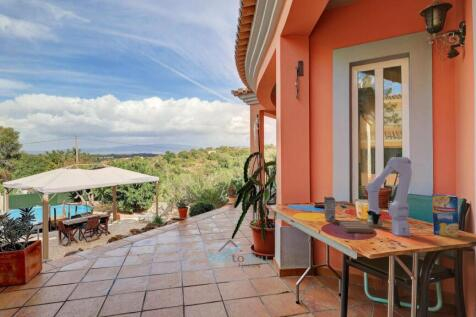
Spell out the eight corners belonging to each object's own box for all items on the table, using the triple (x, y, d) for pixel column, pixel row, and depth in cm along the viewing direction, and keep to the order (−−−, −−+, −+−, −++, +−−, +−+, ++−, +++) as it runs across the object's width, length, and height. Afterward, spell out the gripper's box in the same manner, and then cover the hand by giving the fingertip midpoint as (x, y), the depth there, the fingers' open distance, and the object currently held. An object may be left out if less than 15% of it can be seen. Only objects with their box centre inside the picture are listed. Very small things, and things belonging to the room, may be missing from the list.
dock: (371, 232, 149) (371, 228, 149) (346, 232, 151) (346, 228, 151) (360, 224, 168) (360, 220, 168) (338, 224, 170) (338, 220, 170)
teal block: (379, 220, 161) (379, 216, 161) (370, 220, 162) (370, 216, 162) (376, 219, 165) (376, 215, 165) (368, 219, 166) (368, 215, 166)
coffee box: (324, 218, 188) (324, 196, 188) (333, 218, 186) (333, 196, 187) (326, 221, 179) (325, 198, 179) (335, 221, 178) (335, 198, 178)
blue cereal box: (458, 237, 137) (457, 196, 137) (433, 234, 144) (432, 195, 144) (457, 234, 143) (456, 195, 143) (432, 231, 149) (431, 194, 149)
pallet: (382, 227, 160) (382, 220, 160) (368, 227, 162) (368, 220, 162) (379, 225, 165) (378, 219, 165) (366, 225, 167) (365, 218, 167)
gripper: (384, 203, 156) (385, 226, 156) (375, 200, 170) (376, 220, 170) (372, 203, 157) (373, 225, 157) (364, 200, 171) (364, 220, 171)
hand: (373, 223), depth 164 cm, fingers closed on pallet, 5 cm apart
